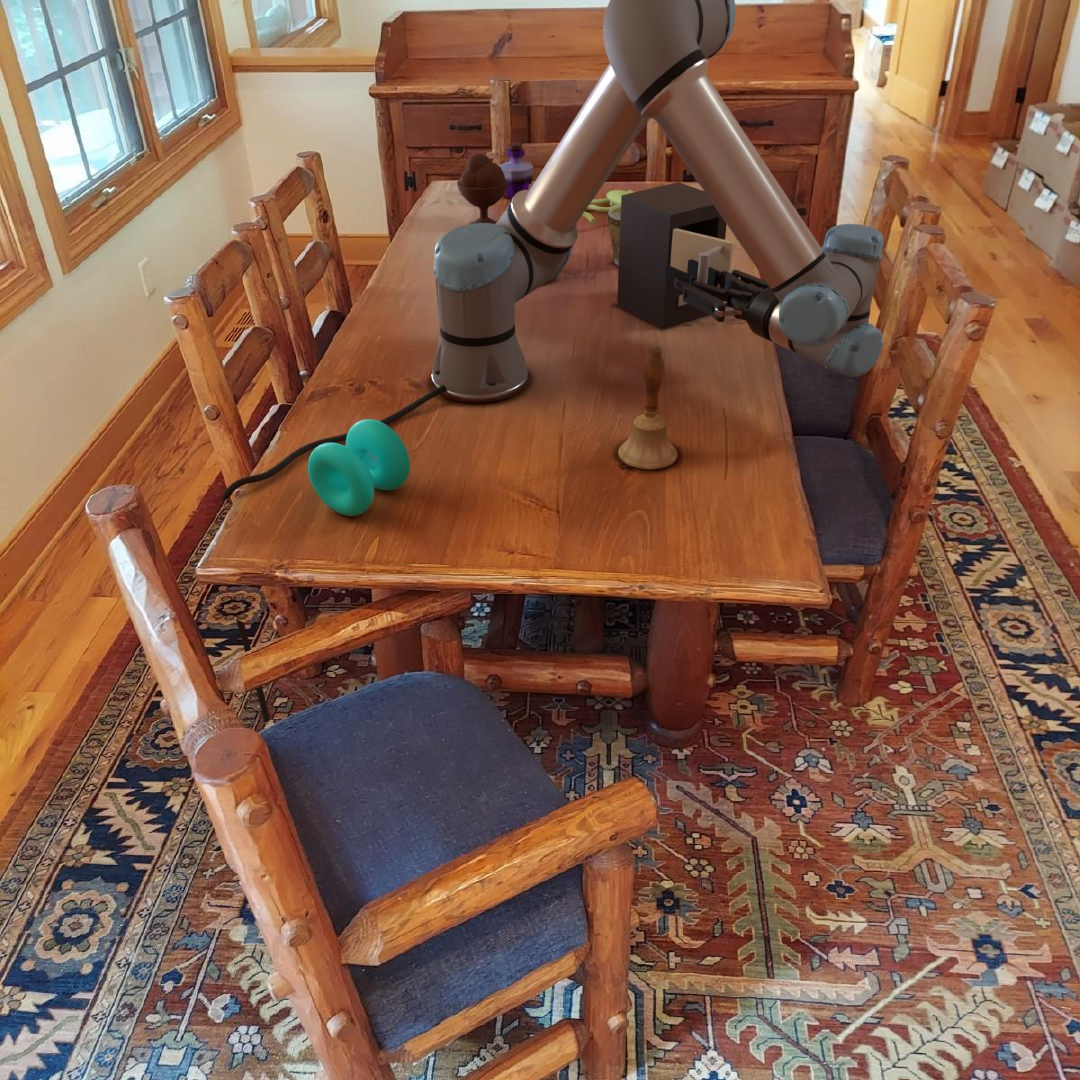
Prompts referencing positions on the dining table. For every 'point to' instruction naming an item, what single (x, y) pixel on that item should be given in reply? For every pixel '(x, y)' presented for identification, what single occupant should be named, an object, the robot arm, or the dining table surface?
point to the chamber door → (701, 253)
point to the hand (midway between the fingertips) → (678, 270)
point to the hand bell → (649, 425)
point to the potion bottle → (516, 170)
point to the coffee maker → (660, 249)
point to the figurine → (612, 197)
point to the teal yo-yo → (359, 467)
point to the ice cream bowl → (482, 185)
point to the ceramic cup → (615, 231)
